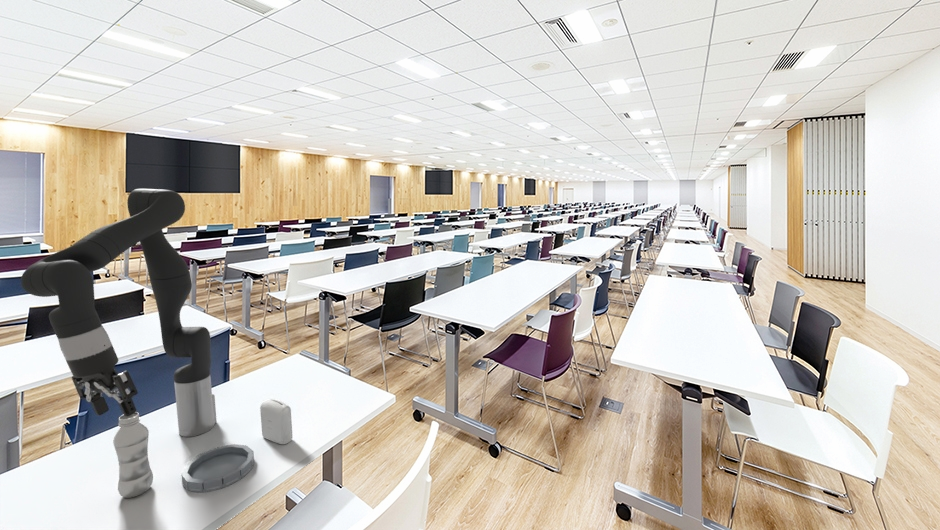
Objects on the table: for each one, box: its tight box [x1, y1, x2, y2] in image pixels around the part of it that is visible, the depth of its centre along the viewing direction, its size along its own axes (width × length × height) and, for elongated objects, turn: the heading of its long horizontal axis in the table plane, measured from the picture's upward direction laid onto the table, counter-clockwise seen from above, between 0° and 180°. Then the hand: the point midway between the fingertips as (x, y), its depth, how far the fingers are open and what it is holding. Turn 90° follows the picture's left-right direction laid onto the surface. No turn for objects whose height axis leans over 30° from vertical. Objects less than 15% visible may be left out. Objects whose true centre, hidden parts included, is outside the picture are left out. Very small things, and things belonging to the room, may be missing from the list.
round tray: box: [180, 443, 255, 493], centre depth 103 cm, size 16×16×2 cm
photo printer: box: [259, 398, 293, 445], centre depth 118 cm, size 10×4×12 cm, turn 64°
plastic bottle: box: [112, 411, 154, 499], centre depth 94 cm, size 6×7×20 cm
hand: (116, 413), depth 88 cm, fingers open, 8 cm apart
